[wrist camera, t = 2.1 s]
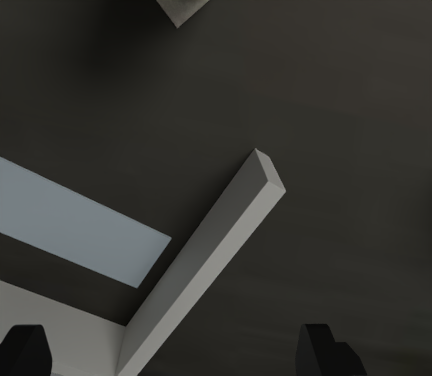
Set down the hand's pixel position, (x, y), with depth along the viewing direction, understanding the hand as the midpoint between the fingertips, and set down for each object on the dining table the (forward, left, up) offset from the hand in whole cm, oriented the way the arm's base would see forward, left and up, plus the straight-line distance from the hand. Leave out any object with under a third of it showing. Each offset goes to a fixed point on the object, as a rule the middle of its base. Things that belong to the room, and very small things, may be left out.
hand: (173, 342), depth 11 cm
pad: (-5, -12, -19) cm, 23 cm away
